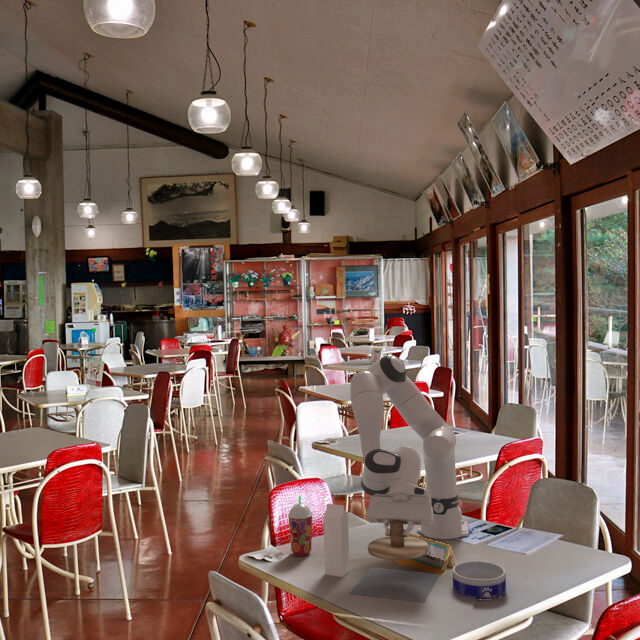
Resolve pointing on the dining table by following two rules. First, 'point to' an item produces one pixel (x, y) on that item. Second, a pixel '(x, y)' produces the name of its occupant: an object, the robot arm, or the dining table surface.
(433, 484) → the robot arm
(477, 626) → the dining table surface
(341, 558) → the milk
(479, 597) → the dog bowl
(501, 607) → the dining table surface
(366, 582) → the mat
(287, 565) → the dining table surface
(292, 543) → the smoothie
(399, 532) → the lid
